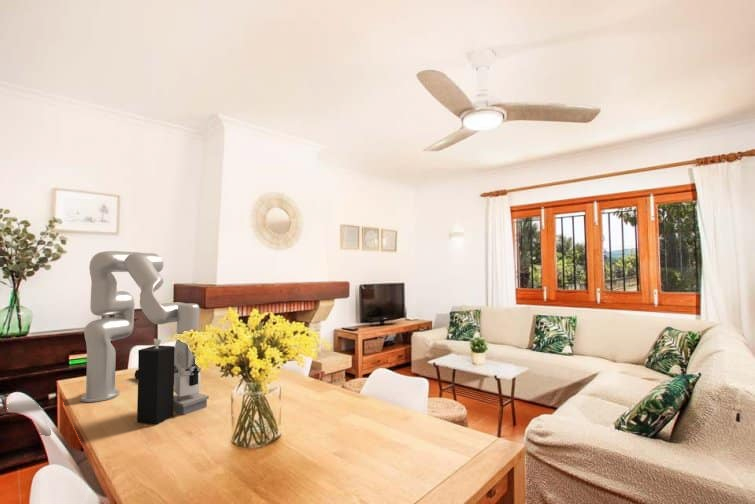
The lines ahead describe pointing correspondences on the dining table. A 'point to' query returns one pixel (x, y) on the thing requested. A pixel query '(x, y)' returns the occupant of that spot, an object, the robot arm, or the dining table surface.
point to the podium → (189, 403)
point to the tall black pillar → (155, 383)
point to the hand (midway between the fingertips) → (186, 382)
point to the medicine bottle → (184, 382)
